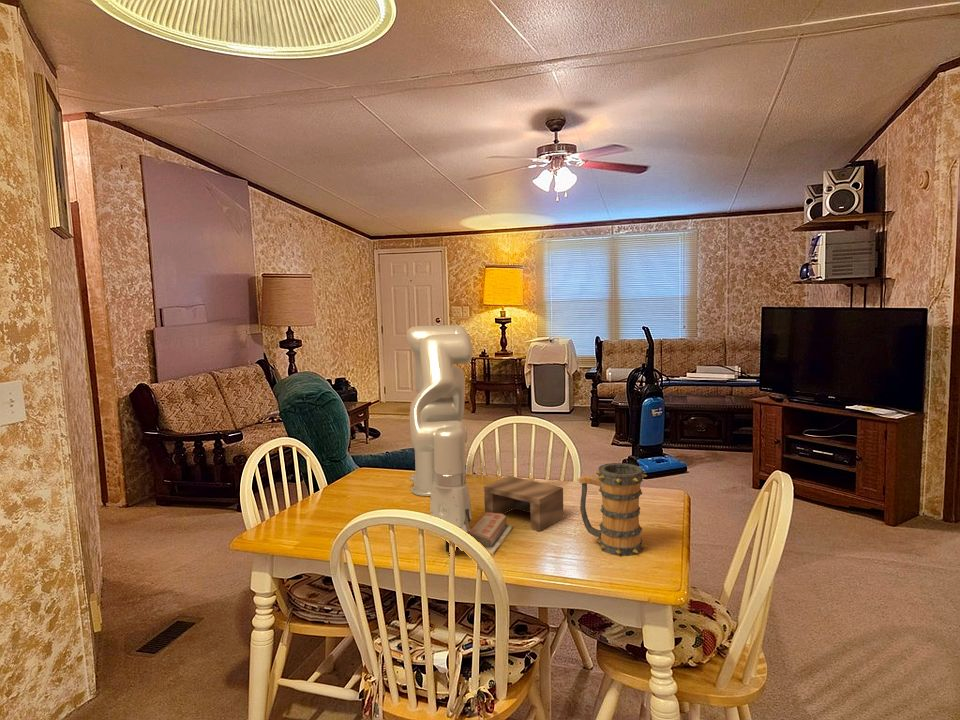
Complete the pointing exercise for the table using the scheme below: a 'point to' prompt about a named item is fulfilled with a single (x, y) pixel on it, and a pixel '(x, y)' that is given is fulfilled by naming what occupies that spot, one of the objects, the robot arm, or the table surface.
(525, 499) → the walnut shelf
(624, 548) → the mug
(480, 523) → the packaged product
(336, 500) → the table surface
